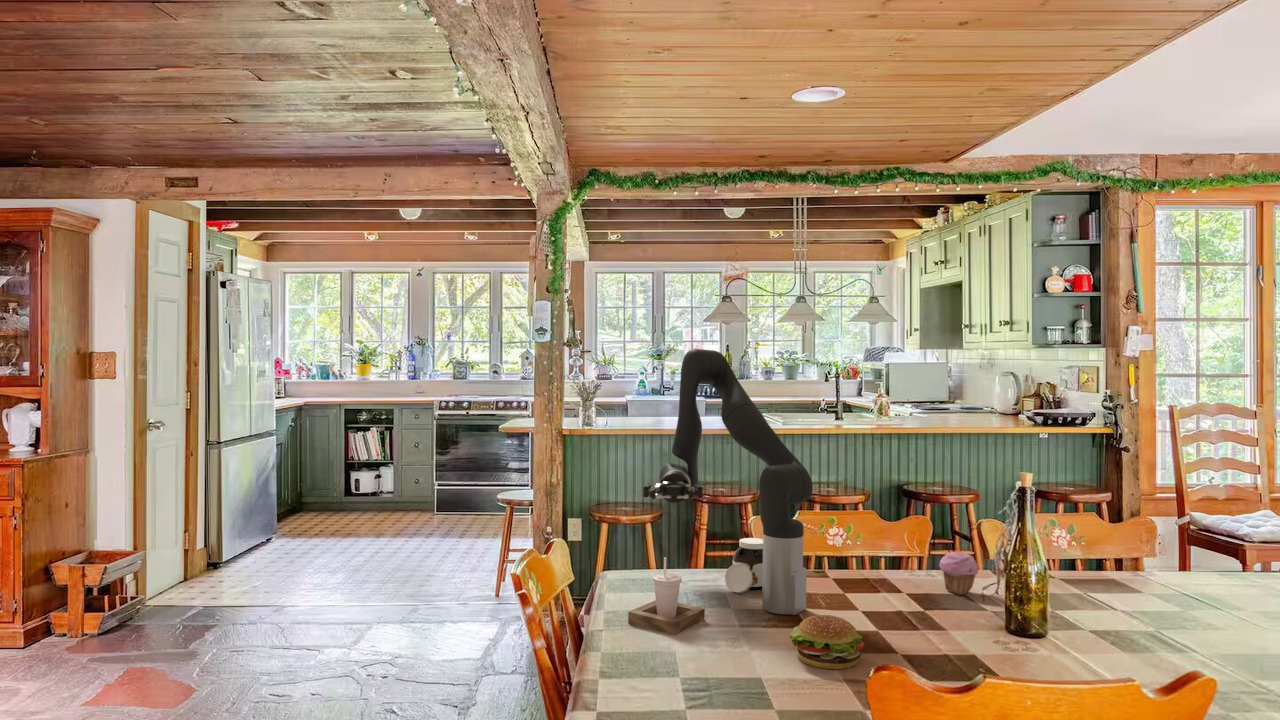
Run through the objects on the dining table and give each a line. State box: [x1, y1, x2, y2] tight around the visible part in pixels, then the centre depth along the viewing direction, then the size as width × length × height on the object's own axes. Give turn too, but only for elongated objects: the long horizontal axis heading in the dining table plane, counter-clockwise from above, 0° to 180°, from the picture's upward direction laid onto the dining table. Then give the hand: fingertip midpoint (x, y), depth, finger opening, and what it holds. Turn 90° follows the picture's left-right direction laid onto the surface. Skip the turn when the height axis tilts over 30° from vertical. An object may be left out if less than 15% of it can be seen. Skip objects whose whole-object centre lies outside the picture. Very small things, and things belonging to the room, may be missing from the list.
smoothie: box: [652, 557, 683, 618], centre depth 175 cm, size 6×6×14 cm
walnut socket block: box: [627, 599, 706, 636], centre depth 175 cm, size 12×12×2 cm
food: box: [789, 614, 865, 670], centre depth 155 cm, size 14×14×8 cm
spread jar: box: [724, 537, 763, 594], centre depth 202 cm, size 12×11×12 cm
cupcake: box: [939, 551, 979, 596], centre depth 201 cm, size 9×9×10 cm
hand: (671, 494), depth 186 cm, fingers open, 8 cm apart
